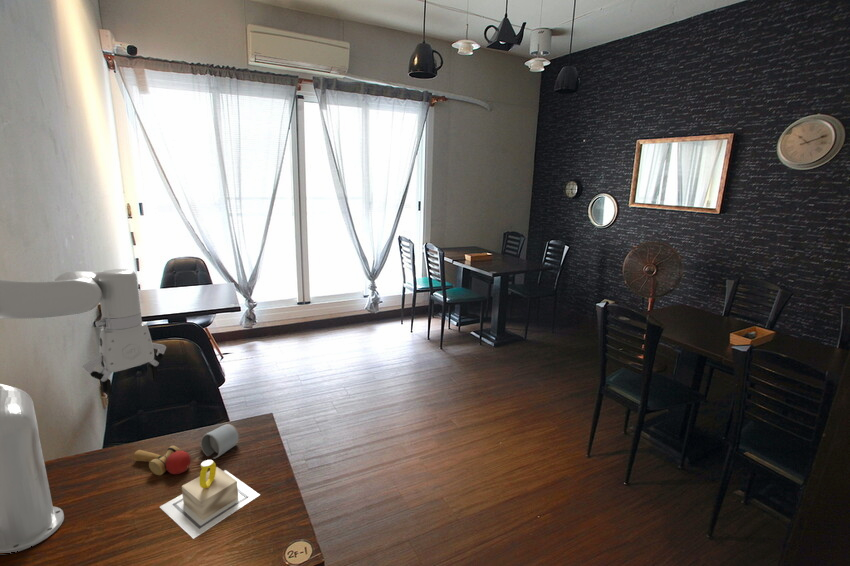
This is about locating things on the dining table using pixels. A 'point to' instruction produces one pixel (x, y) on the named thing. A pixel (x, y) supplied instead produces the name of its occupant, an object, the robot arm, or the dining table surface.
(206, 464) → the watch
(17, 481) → the robot arm
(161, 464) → the kendama
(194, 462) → the dining table surface
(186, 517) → the mat
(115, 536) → the dining table surface
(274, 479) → the dining table surface
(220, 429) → the grey hollow cylinder
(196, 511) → the birch block
